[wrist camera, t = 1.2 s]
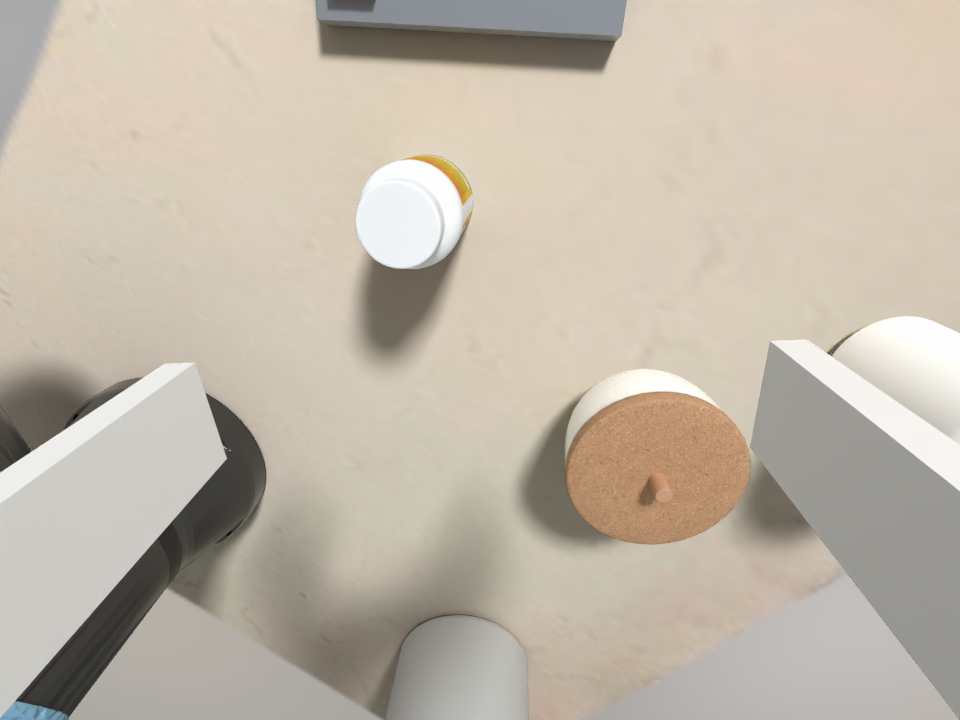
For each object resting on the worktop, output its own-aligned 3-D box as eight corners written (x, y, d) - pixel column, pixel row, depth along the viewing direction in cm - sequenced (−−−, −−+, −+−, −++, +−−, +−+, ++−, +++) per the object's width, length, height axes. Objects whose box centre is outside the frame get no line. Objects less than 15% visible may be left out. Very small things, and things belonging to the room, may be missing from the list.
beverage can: (800, 414, 36) (923, 538, 25) (841, 307, 32) (1005, 396, 21) (916, 424, 35) (1092, 554, 24) (970, 318, 32) (1203, 413, 21)
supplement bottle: (386, 153, 30) (331, 162, 22) (473, 153, 30) (454, 162, 21) (392, 242, 33) (345, 283, 24) (474, 243, 32) (457, 285, 23)
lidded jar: (536, 374, 36) (541, 450, 27) (685, 322, 33) (742, 387, 25) (583, 486, 40) (601, 583, 31) (720, 447, 37) (780, 540, 29)
